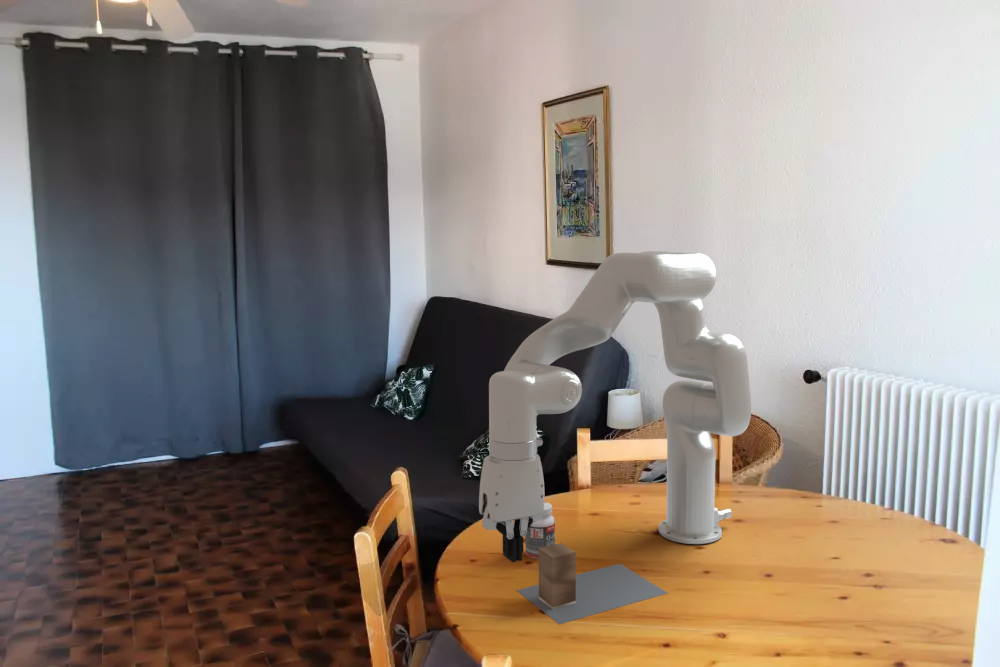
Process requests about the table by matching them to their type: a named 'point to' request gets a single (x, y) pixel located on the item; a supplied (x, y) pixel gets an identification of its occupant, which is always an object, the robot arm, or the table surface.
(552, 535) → the pill bottle
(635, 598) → the mat
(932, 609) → the table surface
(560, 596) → the block
